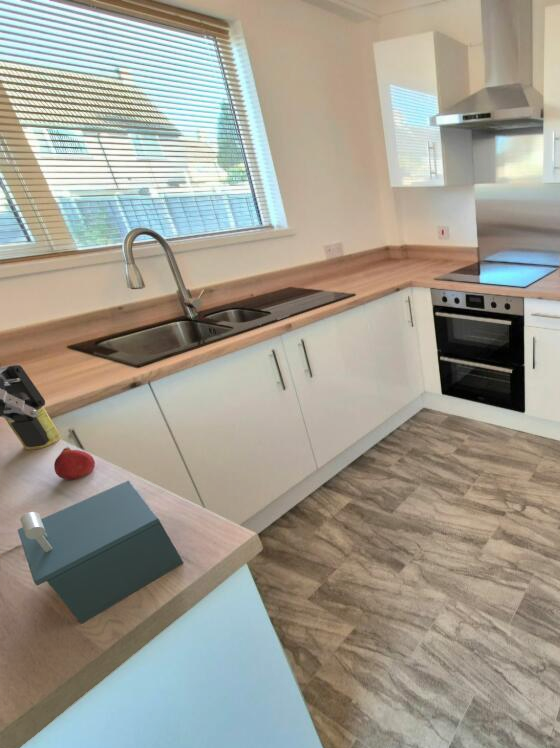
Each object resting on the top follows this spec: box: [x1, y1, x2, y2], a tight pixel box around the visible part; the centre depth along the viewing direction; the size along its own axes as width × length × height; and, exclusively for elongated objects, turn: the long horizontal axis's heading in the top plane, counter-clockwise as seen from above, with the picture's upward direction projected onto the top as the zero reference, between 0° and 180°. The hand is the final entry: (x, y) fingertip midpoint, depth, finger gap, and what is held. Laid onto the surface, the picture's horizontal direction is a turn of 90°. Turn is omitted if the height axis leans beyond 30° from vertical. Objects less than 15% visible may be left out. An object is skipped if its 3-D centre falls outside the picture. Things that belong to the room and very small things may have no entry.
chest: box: [46, 521, 184, 625], centre depth 67 cm, size 13×16×9 cm
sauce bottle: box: [5, 393, 62, 451], centre depth 97 cm, size 7×6×20 cm
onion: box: [53, 446, 96, 481], centre depth 88 cm, size 6×6×8 cm
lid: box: [17, 479, 161, 587], centre depth 63 cm, size 14×16×5 cm
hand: (13, 464), depth 52 cm, fingers open, 8 cm apart
